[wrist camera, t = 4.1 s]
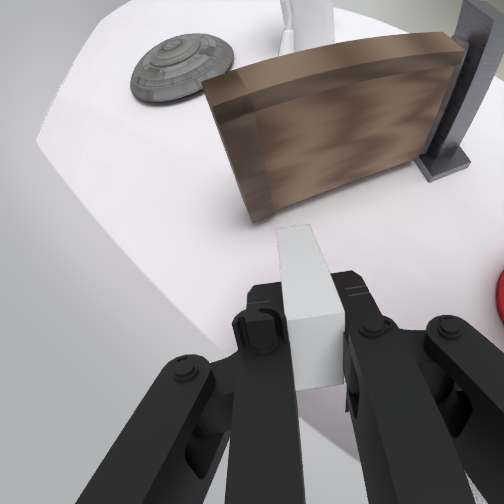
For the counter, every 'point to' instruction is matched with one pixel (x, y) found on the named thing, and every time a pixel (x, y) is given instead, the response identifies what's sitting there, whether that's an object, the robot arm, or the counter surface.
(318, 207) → the counter surface
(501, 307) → the canned food
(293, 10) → the fire extinguisher
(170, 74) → the flying saucer
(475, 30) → the gate post
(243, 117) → the gate
